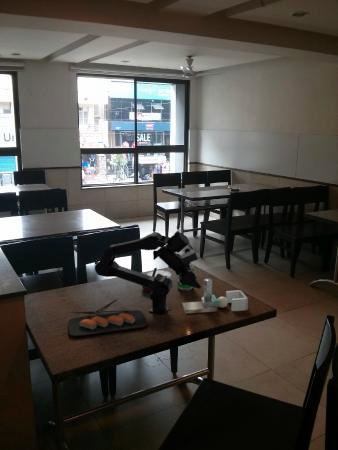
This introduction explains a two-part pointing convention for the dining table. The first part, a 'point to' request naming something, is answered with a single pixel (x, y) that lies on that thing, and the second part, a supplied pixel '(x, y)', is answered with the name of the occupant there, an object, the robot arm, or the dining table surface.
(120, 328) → the sushi plate
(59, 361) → the dining table surface
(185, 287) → the soda can
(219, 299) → the ball
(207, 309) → the beige flat block
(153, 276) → the cocoa
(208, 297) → the striker
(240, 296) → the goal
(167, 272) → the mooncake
